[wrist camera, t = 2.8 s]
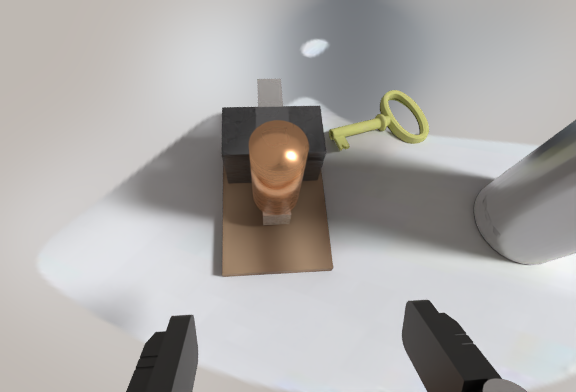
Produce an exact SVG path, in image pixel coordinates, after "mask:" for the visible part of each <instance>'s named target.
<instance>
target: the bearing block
mask: <svg viewBox="0 0 576 392" xmlns="http://www.w3.org/2000/svg"><path fill="white" fill-rule="evenodd" d="M274 120H282V121H287V122H290V123H293V124H295V125H296V126H298V127H299V128H300V129H301V130H302V131H303V132H304V133H305V135H306V137H307V139H308V143H309V151H308V155H307V160H306V165H305V170H304V174H303V179H302V181H317V180H318V177H319V174H320V171H321V167H322V164H323V161H324V158H325V154H326V147H325V139H324V132H323V124H322V117H321V109H320V106H284V107H232V108H231V107H230V108H228V107H227V108H222V158H223V163H224V167H225V171H226V176H227V180H228V184H232V183H252V178H251V167H250V155H249V139H250V137H251V135H252V133H253V132H254V130H255V129H256V128H257V127H259V126H260V125H262V124H264V123H266V122H269V121H274Z"/></svg>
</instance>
